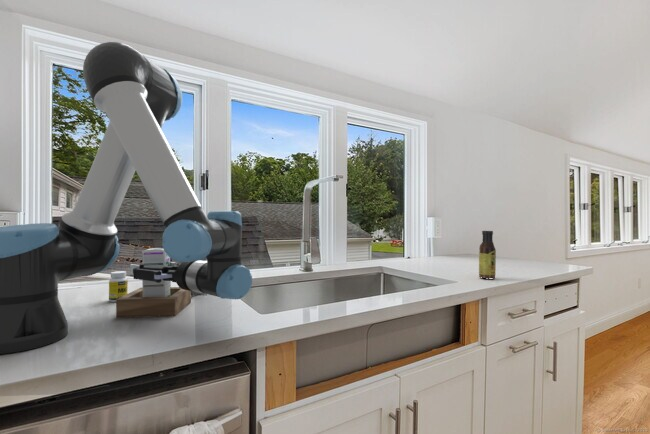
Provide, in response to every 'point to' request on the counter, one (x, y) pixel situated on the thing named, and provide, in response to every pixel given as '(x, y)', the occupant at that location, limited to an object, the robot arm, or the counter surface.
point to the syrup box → (156, 260)
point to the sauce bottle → (487, 256)
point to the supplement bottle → (117, 285)
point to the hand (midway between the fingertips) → (147, 267)
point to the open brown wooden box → (152, 304)
